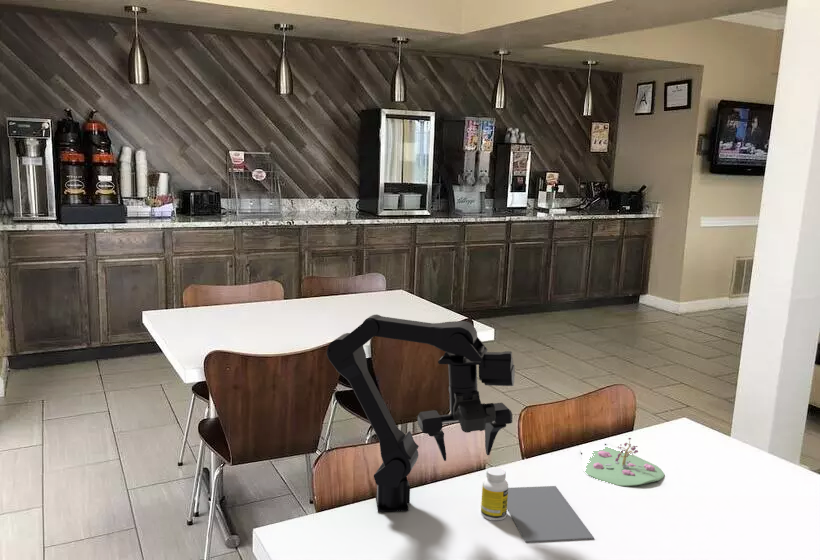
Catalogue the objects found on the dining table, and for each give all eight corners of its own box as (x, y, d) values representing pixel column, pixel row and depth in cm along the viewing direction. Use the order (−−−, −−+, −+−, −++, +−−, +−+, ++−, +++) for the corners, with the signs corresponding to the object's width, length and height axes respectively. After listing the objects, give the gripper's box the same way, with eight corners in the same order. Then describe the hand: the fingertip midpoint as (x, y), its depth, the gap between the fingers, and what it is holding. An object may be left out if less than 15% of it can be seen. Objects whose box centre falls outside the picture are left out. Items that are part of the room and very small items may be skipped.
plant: (553, 450, 174) (555, 417, 173) (620, 442, 181) (623, 410, 179) (608, 494, 151) (611, 456, 149) (683, 483, 157) (687, 447, 156)
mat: (525, 542, 129) (525, 541, 129) (496, 489, 150) (496, 488, 150) (594, 539, 131) (594, 537, 131) (555, 487, 152) (555, 485, 152)
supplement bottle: (505, 523, 136) (508, 478, 135) (479, 519, 137) (481, 475, 136) (507, 510, 141) (509, 467, 140) (482, 507, 142) (484, 464, 141)
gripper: (426, 401, 125) (430, 479, 127) (520, 391, 128) (523, 467, 130) (415, 384, 136) (419, 457, 138) (502, 375, 139) (504, 446, 141)
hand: (466, 457), depth 136 cm, fingers open, 9 cm apart
